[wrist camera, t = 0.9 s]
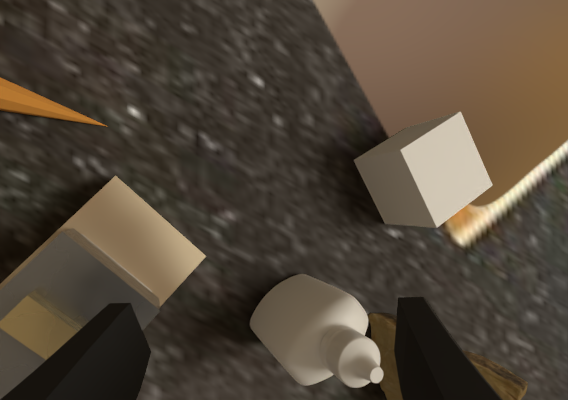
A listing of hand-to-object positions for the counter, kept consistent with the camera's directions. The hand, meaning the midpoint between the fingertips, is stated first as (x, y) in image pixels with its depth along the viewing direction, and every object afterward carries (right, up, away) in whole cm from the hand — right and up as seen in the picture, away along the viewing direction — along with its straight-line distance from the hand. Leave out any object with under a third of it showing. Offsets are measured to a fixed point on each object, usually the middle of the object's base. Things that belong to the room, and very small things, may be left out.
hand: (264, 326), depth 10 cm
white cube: (+10, +6, +22) cm, 24 cm away
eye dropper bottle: (0, -5, +18) cm, 18 cm away
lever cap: (-11, -3, +10) cm, 15 cm away
